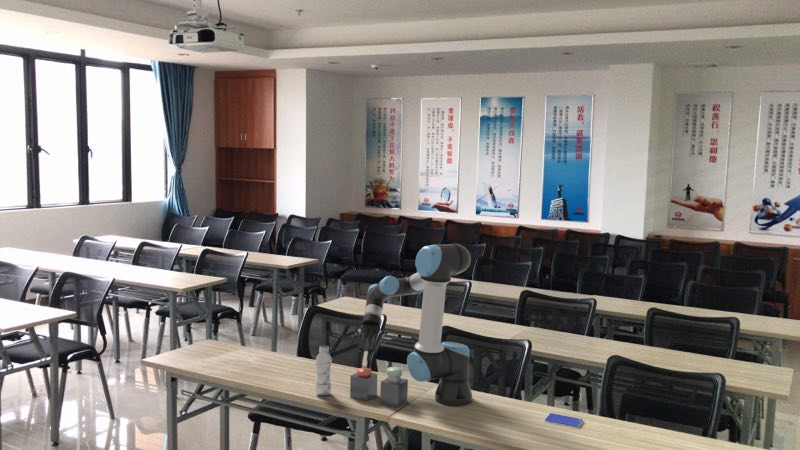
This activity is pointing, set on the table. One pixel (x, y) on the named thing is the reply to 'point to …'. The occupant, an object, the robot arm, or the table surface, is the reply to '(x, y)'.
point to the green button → (394, 374)
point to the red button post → (363, 387)
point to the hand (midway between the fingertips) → (364, 366)
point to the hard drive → (563, 420)
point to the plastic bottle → (323, 371)
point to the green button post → (394, 393)
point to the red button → (364, 372)
